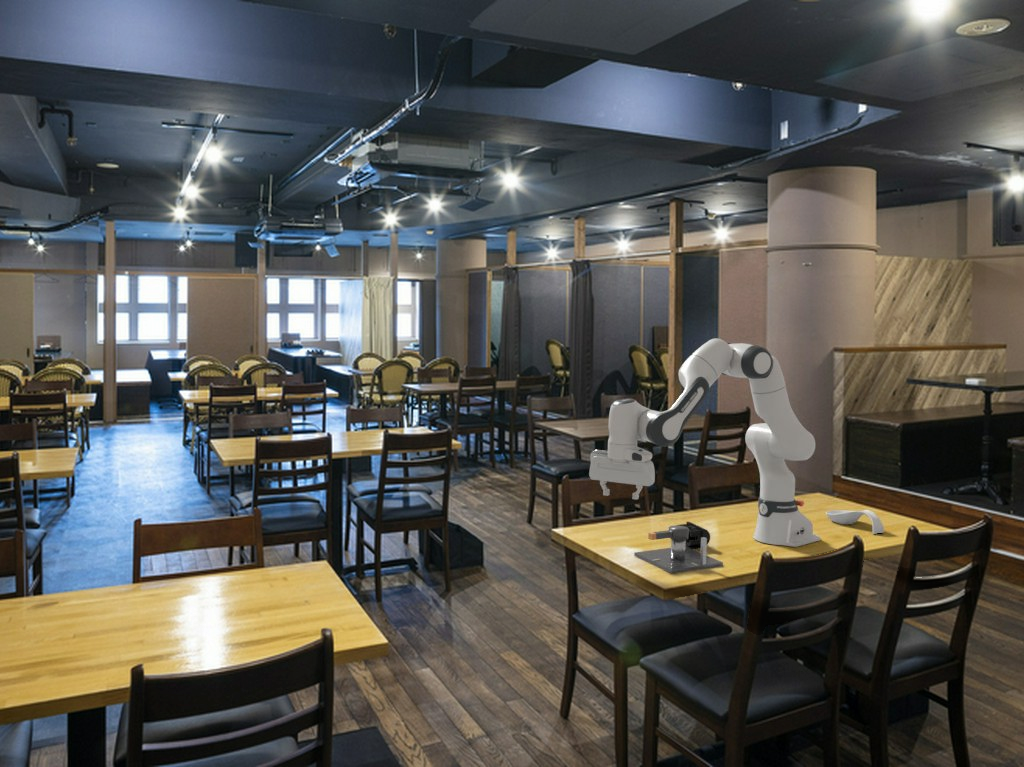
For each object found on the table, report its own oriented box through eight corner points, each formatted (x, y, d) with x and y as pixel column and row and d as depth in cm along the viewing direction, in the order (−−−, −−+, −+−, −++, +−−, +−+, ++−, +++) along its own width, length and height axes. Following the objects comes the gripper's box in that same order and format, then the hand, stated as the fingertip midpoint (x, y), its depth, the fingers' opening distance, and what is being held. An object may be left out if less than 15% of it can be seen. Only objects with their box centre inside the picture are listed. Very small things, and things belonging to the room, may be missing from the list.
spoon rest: (818, 520, 299) (819, 501, 299) (843, 517, 303) (844, 499, 303) (866, 536, 277) (867, 516, 276) (892, 533, 281) (894, 513, 280)
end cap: (710, 548, 259) (710, 528, 259) (691, 550, 257) (691, 529, 257) (693, 540, 269) (694, 520, 268) (675, 542, 267) (675, 522, 266)
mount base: (683, 548, 258) (684, 521, 258) (722, 565, 241) (723, 536, 240) (634, 555, 250) (635, 527, 249) (671, 573, 233) (672, 543, 232)
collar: (680, 534, 249) (680, 524, 249) (692, 539, 244) (692, 529, 243) (644, 538, 243) (644, 529, 243) (655, 543, 238) (656, 534, 238)
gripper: (586, 450, 246) (585, 494, 247) (650, 456, 236) (648, 503, 237) (594, 447, 251) (593, 491, 252) (657, 454, 241) (655, 499, 242)
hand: (620, 497), depth 245 cm, fingers open, 8 cm apart
